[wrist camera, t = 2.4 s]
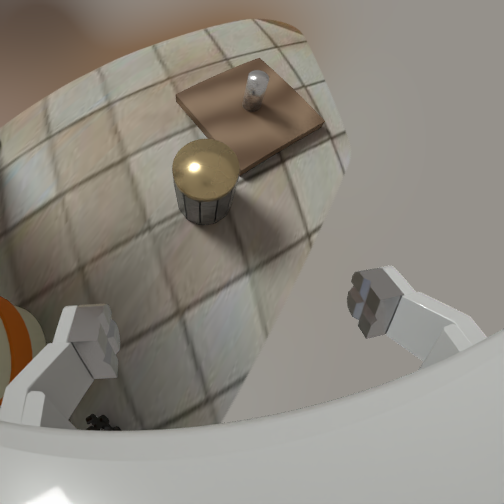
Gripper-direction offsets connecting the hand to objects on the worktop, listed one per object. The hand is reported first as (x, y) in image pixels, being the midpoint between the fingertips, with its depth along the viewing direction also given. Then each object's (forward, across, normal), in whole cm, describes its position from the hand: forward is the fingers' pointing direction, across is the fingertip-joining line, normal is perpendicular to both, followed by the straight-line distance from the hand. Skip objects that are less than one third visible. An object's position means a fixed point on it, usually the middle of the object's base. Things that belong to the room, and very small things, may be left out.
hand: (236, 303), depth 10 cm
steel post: (+33, -7, -2) cm, 33 cm away
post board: (+34, -7, -1) cm, 34 cm away
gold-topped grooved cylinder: (+25, 0, +7) cm, 26 cm away
